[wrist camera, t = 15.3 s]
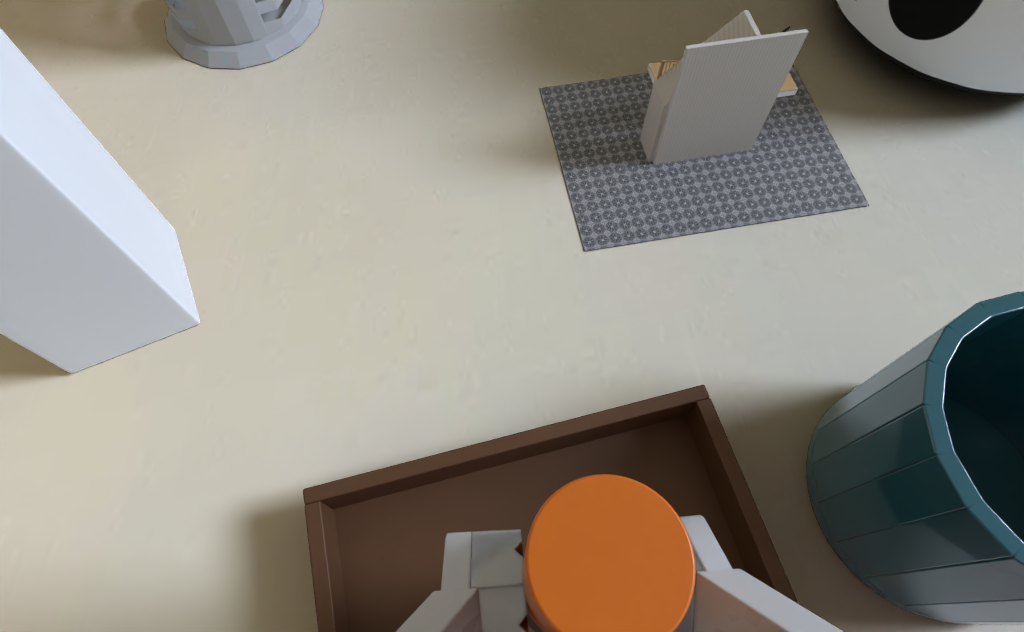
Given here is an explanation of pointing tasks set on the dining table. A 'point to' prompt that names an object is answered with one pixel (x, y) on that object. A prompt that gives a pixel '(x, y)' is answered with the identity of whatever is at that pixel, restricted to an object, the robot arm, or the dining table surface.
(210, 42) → the french press
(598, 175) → the architectural model
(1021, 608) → the pen pot
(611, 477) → the marker
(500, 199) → the dining table surface
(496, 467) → the tray
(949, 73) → the doce de leite jar
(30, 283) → the milk
